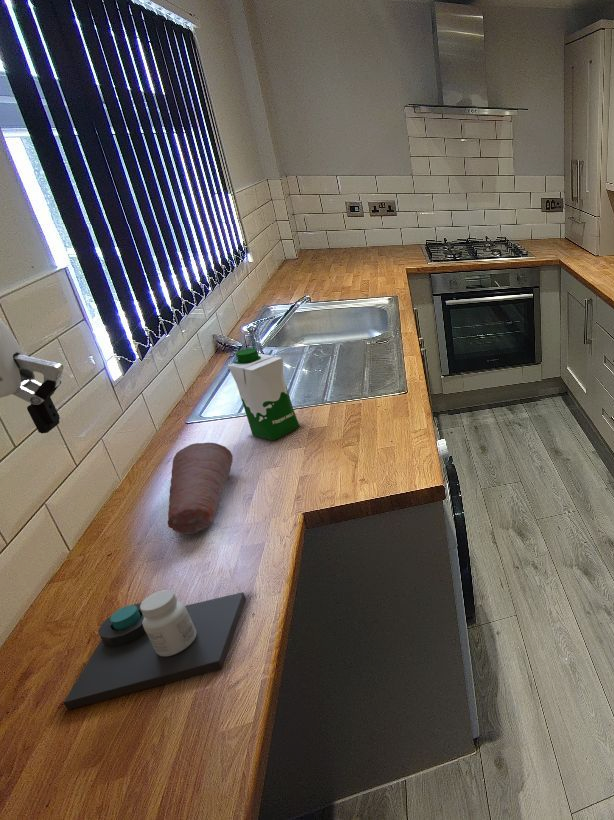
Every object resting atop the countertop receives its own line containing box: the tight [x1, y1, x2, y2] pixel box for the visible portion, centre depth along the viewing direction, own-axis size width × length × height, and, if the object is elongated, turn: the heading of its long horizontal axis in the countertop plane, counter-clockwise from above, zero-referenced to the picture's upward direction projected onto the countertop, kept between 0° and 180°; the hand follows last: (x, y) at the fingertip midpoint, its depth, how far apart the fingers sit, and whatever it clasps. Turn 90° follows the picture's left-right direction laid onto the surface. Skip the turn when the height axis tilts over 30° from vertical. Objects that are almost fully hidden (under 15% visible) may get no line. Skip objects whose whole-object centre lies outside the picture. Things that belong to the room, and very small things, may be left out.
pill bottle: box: [140, 589, 197, 656], centre depth 68 cm, size 4×4×8 cm
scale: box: [63, 591, 247, 711], centre depth 70 cm, size 16×13×3 cm
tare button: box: [109, 604, 141, 630], centre depth 71 cm, size 3×3×2 cm
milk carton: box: [227, 348, 301, 442], centre depth 120 cm, size 9×9×20 cm
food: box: [167, 442, 234, 535], centre depth 97 cm, size 21×9×9 cm, turn 32°
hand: (2, 435), depth 67 cm, fingers open, 9 cm apart
